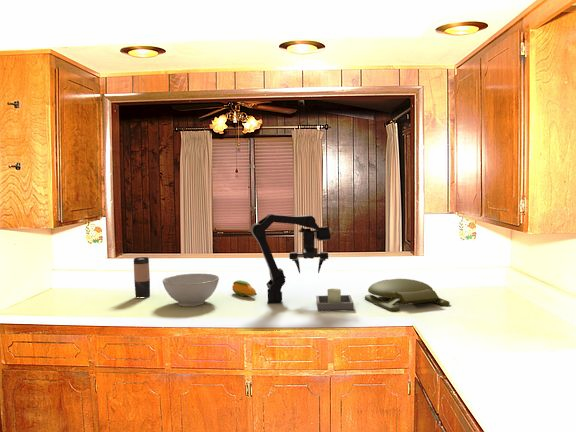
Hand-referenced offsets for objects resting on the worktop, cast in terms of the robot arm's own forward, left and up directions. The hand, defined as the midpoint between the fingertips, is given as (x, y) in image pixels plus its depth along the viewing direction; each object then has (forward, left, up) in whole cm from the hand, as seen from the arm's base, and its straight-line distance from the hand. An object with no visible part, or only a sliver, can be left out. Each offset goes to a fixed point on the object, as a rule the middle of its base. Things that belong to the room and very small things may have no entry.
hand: (309, 273), depth 281 cm
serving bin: (+11, -16, -13) cm, 24 cm away
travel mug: (-85, +13, -13) cm, 87 cm away
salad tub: (+11, -16, -12) cm, 23 cm away
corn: (-32, +11, -13) cm, 37 cm away
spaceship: (+44, -7, -14) cm, 47 cm away
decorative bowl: (-57, -3, -13) cm, 59 cm away
